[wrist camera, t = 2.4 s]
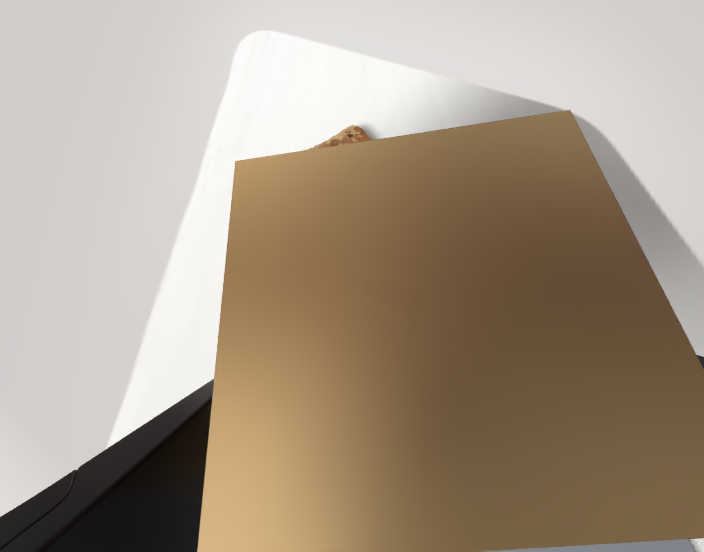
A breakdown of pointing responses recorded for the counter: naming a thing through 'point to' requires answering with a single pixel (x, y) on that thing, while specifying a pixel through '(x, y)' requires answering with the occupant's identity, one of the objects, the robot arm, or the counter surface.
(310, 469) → the wood block
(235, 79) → the counter surface
